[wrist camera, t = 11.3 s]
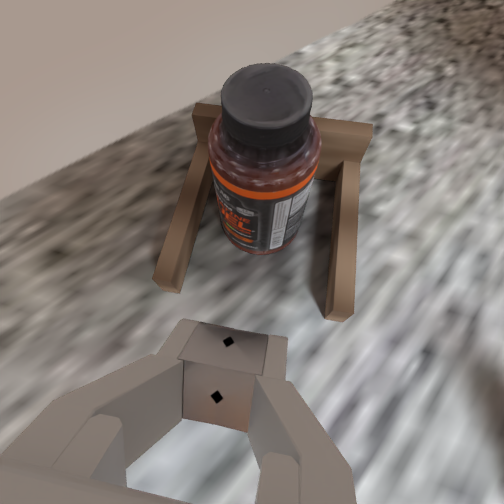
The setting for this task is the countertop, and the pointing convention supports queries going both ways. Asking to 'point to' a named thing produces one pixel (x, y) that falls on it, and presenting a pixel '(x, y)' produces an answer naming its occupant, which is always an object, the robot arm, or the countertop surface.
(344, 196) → the walnut bay
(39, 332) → the countertop surface
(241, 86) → the supplement bottle
